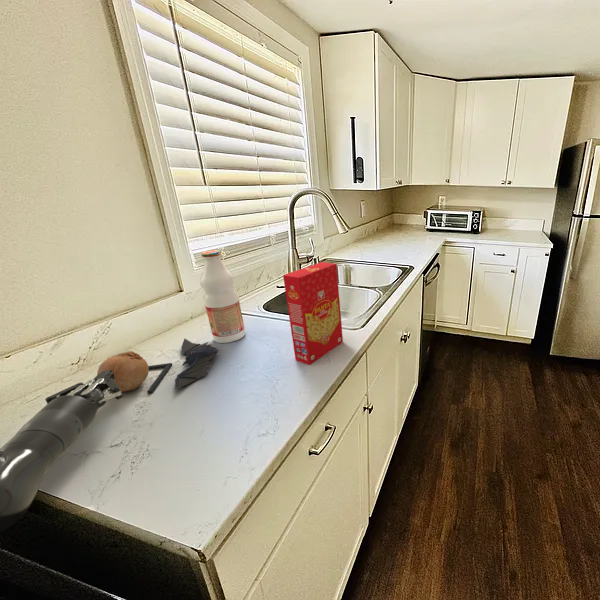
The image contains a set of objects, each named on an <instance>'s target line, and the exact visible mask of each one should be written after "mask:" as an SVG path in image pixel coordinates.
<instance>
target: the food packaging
mask: <svg viewBox="0 0 600 600" xmlns="http://www.w3.org/2000/svg"><path fill="white" fill-rule="evenodd" d="M282 277H283V283H284V290H285V298H286V304H287V311H288V318H289V325H290V331H291V337H292V338H291V339H292V345H293V351H294V359H295V362H299V363H302V364H305V365H308V366H311V365H313V363H315V362H317V361H318V360H320V359H321V358H322V357H324V356H325V355H326V354H328V353H329V352H331V351H332V350H333V349H335V348H337V347H338V346H339V345H341V344H342V343H344V336H343V326H342V324H343V323H342V312H341V303H340V291H339V290H340V289H339V279H338V278H339V277H338V267H337V263H333V262H325V261H321V262H318V263H314V264H311V265H309V266H306V267H303V268H300V269H296V270H294V271H292V272H288V273H285V274H283V275H282Z"/></svg>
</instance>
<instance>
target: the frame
mask: <svg viewBox="0 0 600 600" xmlns="http://www.w3.org/2000/svg"><path fill="white" fill-rule="evenodd" d="M148 367H149V371H152V370H159V369H162V370H161V372H160V373H159V374H158V375H157V377H156V379H155V380H154V382H153V383H152V384H151V385H150V386H149V389H147V395H152V394H154V392H155V391H156V389H157V388H158V387H159V386H160V384H161V382H162V381H163V379H164V378H165V377H166V375H167V373H169V370H170V369H171V368H172V367H173V363H172V362H167V363H161V364H153V365H148Z"/></svg>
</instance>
